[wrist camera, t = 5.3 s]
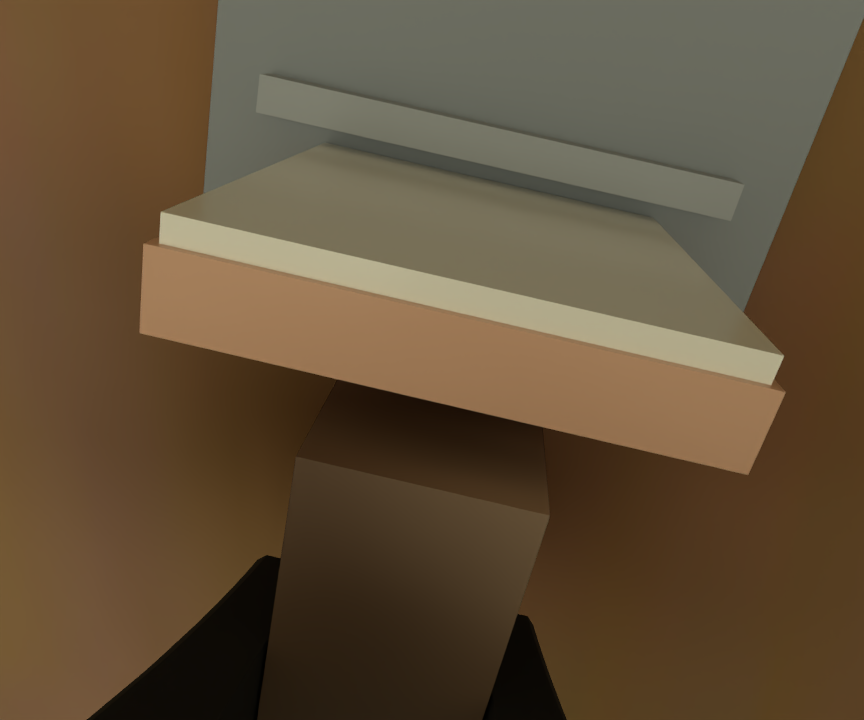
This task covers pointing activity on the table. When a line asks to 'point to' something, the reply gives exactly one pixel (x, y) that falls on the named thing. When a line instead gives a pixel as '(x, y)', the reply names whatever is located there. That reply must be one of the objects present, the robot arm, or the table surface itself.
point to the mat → (549, 101)
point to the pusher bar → (402, 559)
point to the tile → (467, 302)
